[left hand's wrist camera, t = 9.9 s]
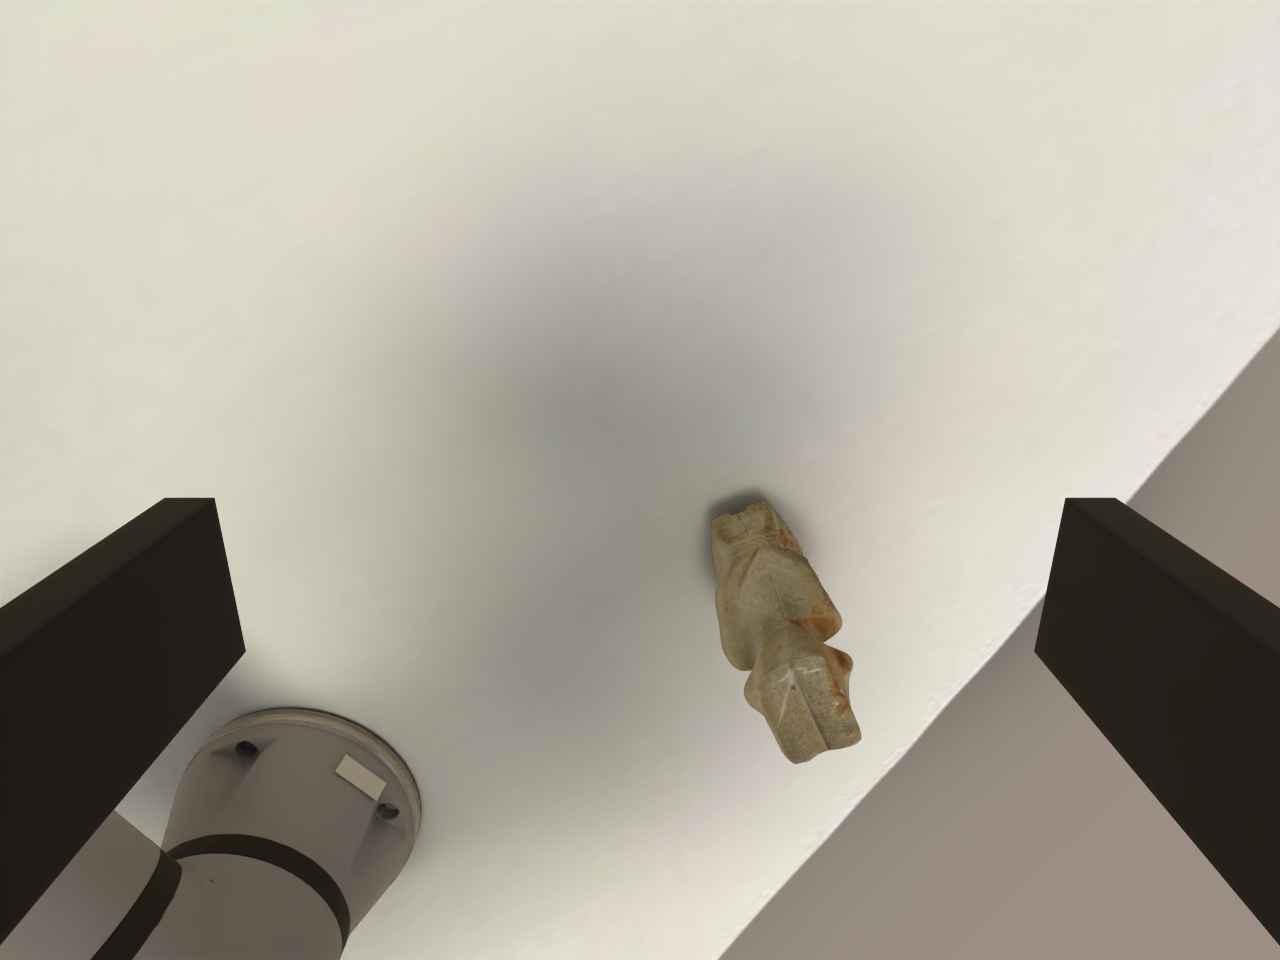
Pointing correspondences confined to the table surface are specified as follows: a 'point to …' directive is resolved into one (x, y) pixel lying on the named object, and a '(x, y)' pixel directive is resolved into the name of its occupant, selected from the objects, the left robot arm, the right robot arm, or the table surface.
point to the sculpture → (782, 633)
